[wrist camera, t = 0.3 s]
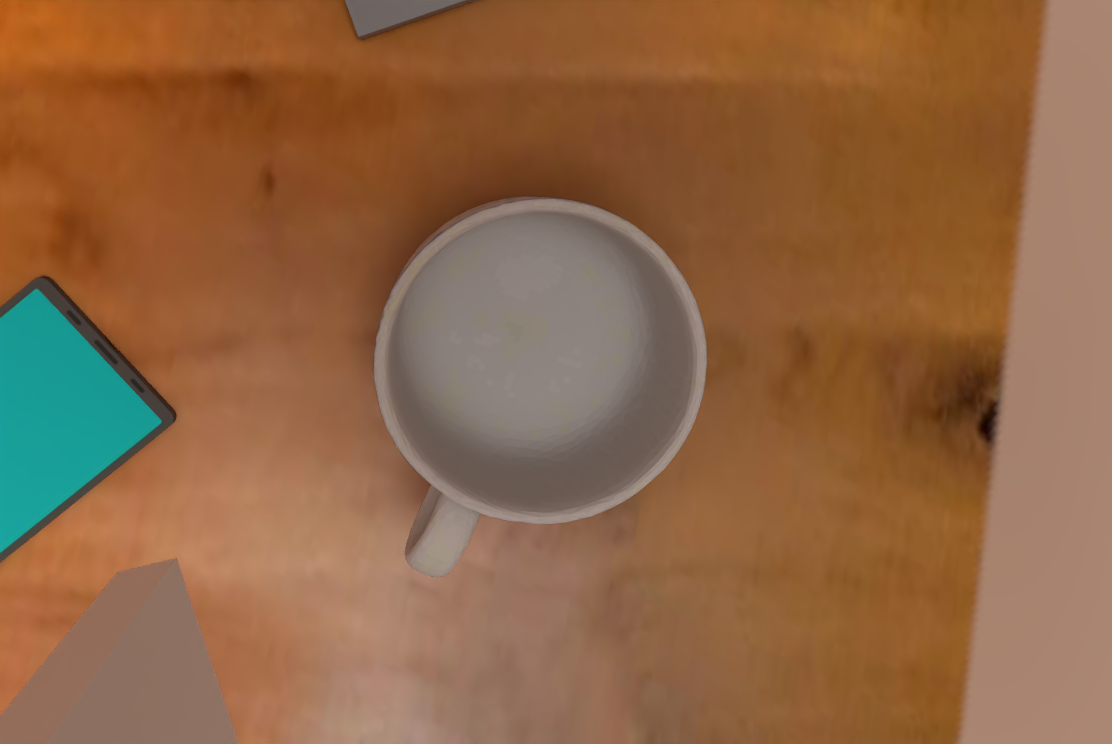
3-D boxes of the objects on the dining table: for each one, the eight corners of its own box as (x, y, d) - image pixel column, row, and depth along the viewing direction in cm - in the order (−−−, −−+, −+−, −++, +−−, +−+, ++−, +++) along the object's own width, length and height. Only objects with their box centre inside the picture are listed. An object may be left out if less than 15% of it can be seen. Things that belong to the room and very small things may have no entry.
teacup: (509, 129, 38) (520, 124, 30) (718, 308, 40) (779, 347, 32) (285, 407, 39) (240, 472, 31) (498, 564, 41) (506, 661, 34)
